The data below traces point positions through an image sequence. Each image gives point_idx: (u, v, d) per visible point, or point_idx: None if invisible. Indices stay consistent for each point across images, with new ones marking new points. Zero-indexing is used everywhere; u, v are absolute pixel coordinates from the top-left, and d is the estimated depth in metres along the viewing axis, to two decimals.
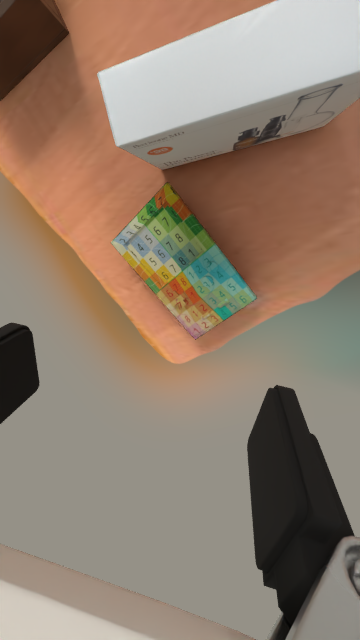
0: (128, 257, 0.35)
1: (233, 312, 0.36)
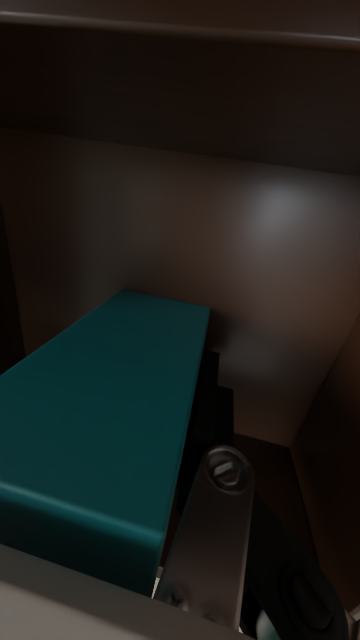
0: None
1: None
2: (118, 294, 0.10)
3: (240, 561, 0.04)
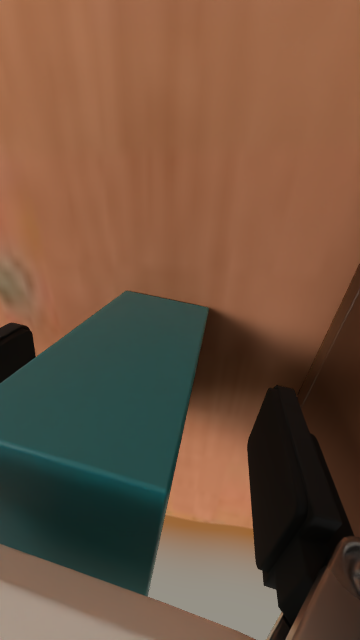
0: None
1: None
2: (122, 295, 0.10)
3: None
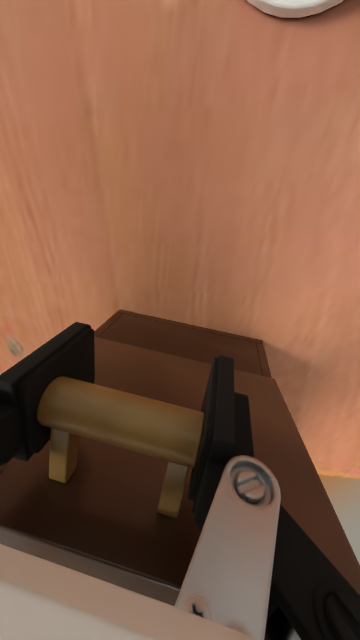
0: None
1: None
2: None
3: (264, 581, 0.04)
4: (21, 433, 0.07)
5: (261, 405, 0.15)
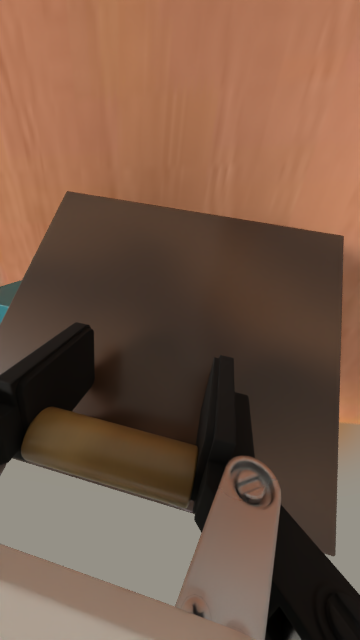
0: None
1: None
2: None
3: (265, 582, 0.04)
4: (20, 433, 0.07)
5: (304, 303, 0.12)
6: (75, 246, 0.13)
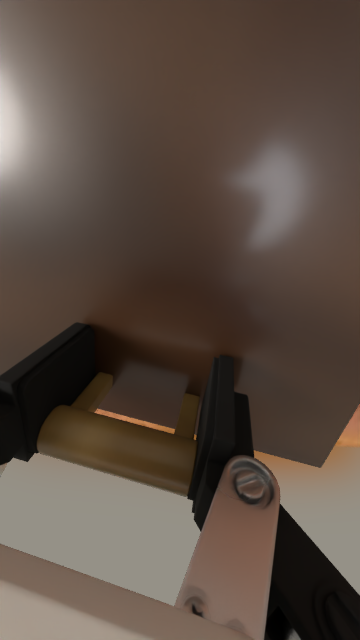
0: None
1: None
2: None
3: (264, 581, 0.04)
4: (20, 432, 0.07)
5: None
6: None
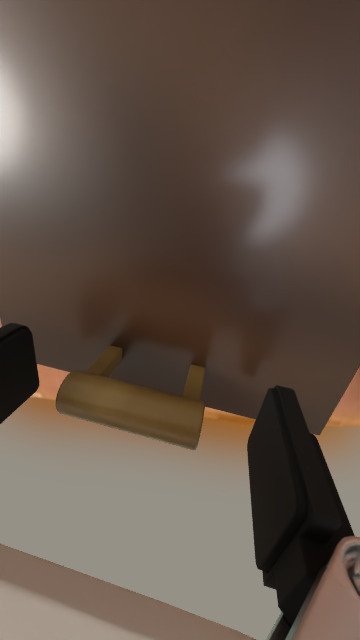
0: None
1: None
2: None
3: None
4: None
5: None
6: (11, 119, 0.08)
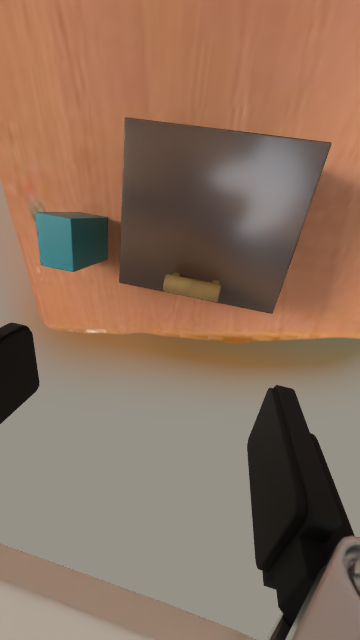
0: None
1: None
2: (77, 212, 0.31)
3: None
4: None
5: (287, 204, 0.20)
6: (145, 173, 0.21)
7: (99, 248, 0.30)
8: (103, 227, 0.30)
